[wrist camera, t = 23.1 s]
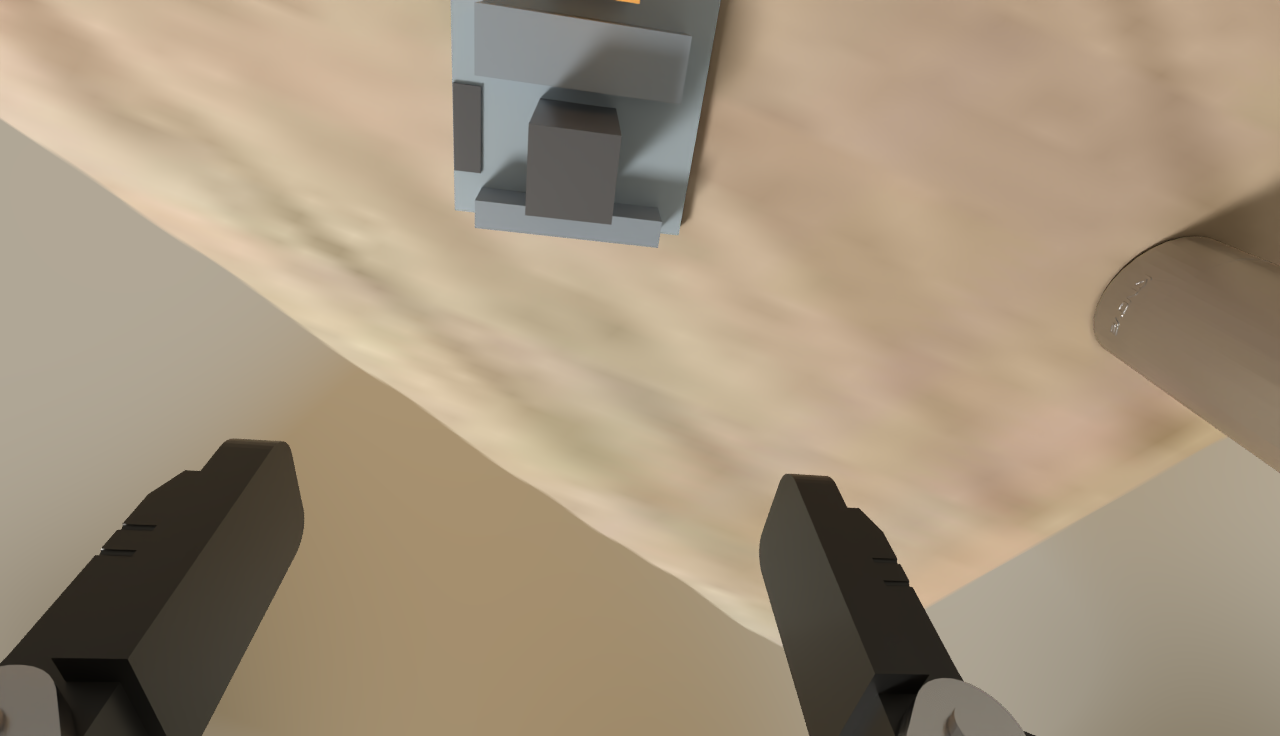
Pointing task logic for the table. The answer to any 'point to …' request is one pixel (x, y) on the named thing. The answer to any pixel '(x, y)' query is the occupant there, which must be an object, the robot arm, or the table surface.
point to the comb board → (586, 74)
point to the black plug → (572, 161)
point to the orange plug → (631, 1)
